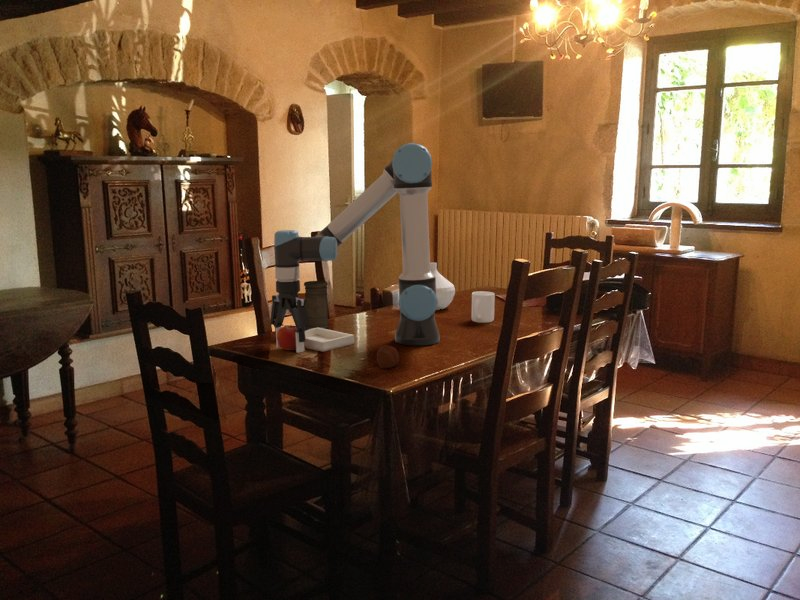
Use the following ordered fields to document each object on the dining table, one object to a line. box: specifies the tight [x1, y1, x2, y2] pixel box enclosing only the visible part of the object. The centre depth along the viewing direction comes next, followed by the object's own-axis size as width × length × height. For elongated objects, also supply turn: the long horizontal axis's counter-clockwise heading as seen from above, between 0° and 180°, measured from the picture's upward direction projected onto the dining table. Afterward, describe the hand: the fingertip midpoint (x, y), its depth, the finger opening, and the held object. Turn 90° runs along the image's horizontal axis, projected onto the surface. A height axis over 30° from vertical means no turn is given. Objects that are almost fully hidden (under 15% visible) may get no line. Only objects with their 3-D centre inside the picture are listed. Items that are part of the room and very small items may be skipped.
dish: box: [304, 327, 355, 352], centre depth 234 cm, size 18×14×3 cm
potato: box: [376, 344, 400, 369], centre depth 206 cm, size 7×9×6 cm
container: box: [303, 280, 331, 330], centre depth 250 cm, size 9×9×18 cm
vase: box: [430, 262, 456, 311], centre depth 294 cm, size 18×18×19 cm
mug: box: [471, 290, 496, 324], centre depth 268 cm, size 9×12×11 cm
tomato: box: [277, 324, 306, 351], centre depth 225 cm, size 9×9×8 cm
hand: (290, 349), depth 225 cm, fingers closed on tomato, 9 cm apart
